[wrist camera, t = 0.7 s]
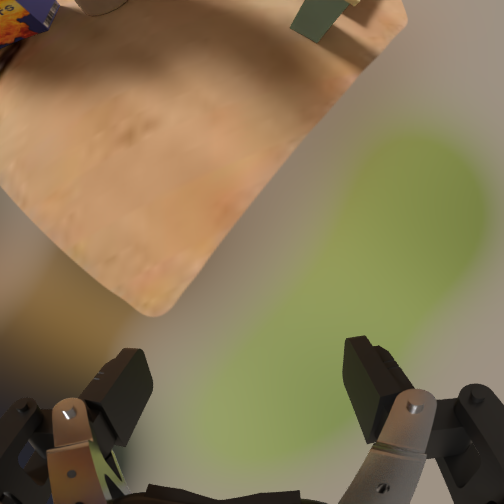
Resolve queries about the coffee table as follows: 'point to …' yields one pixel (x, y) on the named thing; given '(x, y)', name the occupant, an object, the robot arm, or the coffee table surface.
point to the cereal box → (25, 19)
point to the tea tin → (318, 17)
